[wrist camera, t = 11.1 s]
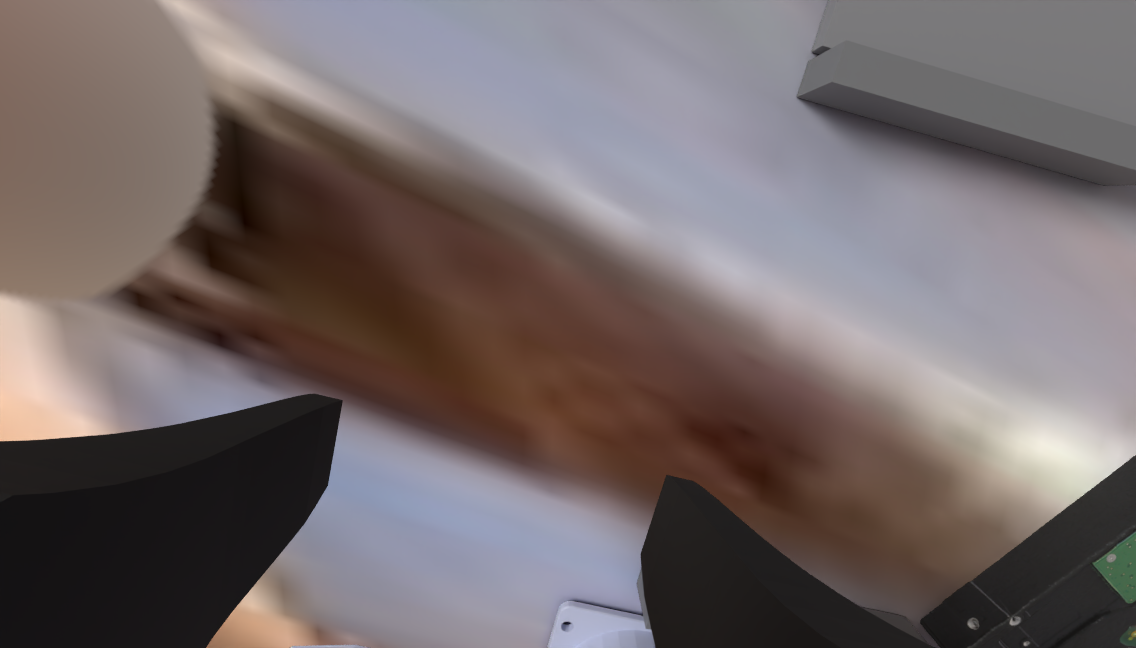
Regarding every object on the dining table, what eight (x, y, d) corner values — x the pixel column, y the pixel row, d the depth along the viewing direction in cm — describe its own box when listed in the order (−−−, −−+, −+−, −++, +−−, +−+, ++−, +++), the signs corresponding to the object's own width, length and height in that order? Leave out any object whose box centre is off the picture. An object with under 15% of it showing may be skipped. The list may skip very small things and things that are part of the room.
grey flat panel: (895, 639, 24) (932, 688, 21) (636, 583, 23) (645, 628, 21) (1239, -105, 18) (1348, -153, 15) (900, -218, 17) (958, -290, 14)
